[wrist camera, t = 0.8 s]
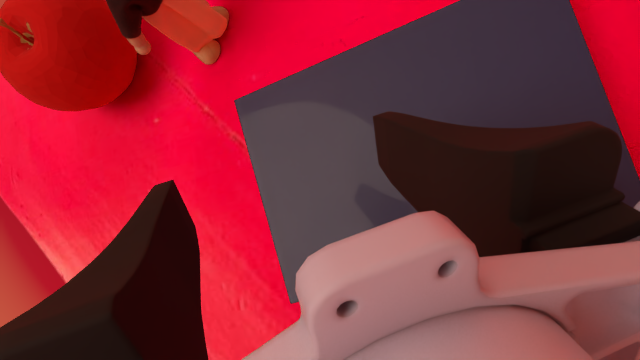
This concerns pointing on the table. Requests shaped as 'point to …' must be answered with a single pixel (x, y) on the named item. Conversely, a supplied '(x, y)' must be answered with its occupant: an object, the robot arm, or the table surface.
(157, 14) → the grandmother figurine
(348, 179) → the book
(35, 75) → the fruit
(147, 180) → the table surface
